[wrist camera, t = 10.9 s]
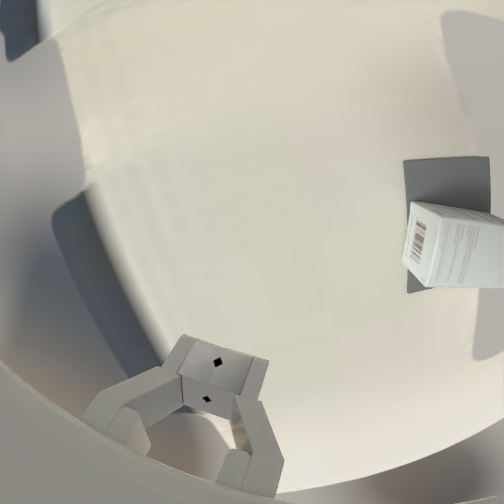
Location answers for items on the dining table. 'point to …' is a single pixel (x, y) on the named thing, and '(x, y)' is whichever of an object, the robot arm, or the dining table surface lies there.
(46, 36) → the dining table surface
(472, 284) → the supplement box
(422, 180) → the mat
